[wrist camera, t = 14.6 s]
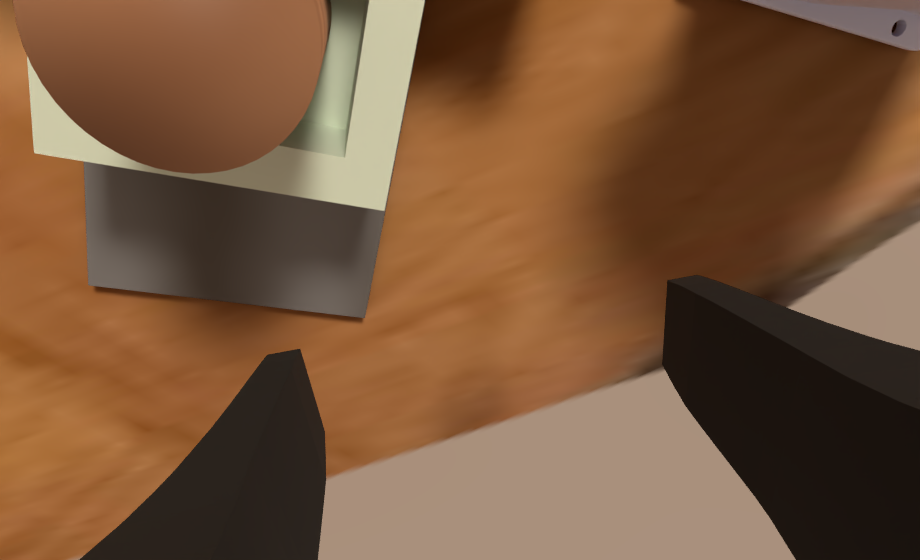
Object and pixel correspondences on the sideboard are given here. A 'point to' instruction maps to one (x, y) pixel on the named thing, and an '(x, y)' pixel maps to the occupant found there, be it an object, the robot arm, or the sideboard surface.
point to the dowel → (179, 73)
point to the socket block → (323, 125)
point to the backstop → (228, 241)
